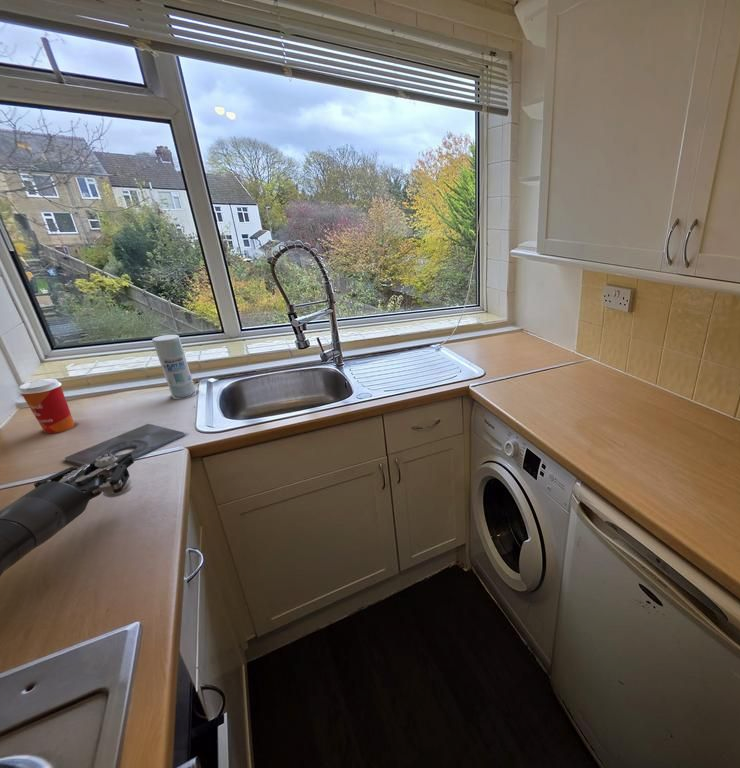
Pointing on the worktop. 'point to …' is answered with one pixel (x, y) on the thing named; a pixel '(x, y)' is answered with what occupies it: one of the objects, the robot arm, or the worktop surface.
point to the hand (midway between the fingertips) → (119, 458)
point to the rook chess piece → (106, 462)
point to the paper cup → (48, 404)
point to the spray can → (174, 366)
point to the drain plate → (128, 444)
